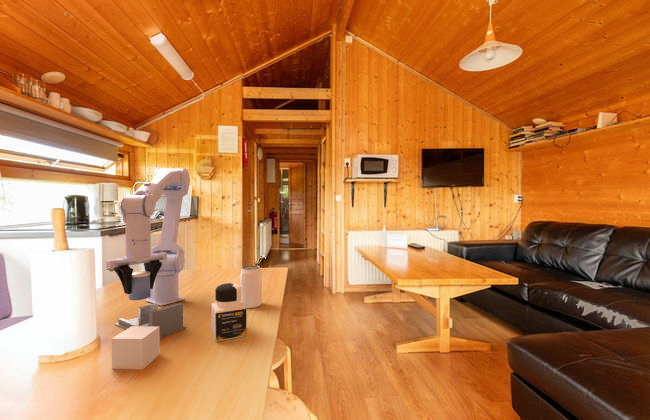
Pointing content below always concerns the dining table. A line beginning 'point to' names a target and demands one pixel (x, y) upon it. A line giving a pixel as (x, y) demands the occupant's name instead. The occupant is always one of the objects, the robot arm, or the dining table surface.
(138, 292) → the jar
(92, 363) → the dining table surface
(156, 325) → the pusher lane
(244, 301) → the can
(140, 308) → the plate
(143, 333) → the pale pink cube
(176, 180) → the robot arm
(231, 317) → the medicine bottle
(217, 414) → the dining table surface
